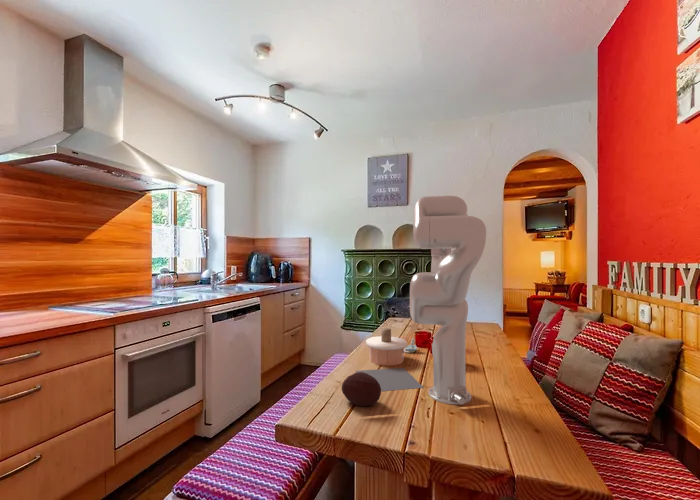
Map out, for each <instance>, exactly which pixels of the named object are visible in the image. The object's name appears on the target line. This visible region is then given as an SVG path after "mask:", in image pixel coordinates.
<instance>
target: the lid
mask: <svg viewBox="0 0 700 500" xmlns="http://www.w3.org/2000/svg"><path fill="white" fill-rule="evenodd" d="M365 345H366V347H368V348H369V347H371V348H374V349H379V350H398V349H402V348H404V349H405V348H406V347H407V346H408V341H407V340H406V339H405V338H402V337H399V336H398V337H397V336H392V329H391V328H390V327H389V328H388V327H384V328H381V335H380V336H378V335H377V336H372V337H368V338H367V339H366V340H365Z"/></svg>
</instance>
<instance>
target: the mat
mask: <svg viewBox="0 0 700 500" xmlns="http://www.w3.org/2000/svg"><path fill="white" fill-rule="evenodd" d="M358 372H363V373H367V374H369V375H371V376H372V377H374V378H375V379H376V380H377V381H378V383H379V384H380V387H381V392H389V391H390V392H391V391H401V390H403V391H404V390H415V389H416V390H417V389H424V388H425V387H424V386H423V385H422V384H421V383H420V382H419V381H418V380H417V379H416V378H415V377H414V376H413V375H412V374H411V373H409V371H408V370H406V369H405V368H404V367H392V368H391V367H390V368H379V369H378V368H375V369H365V370H362V369H361V370H355V373H358Z"/></svg>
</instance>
